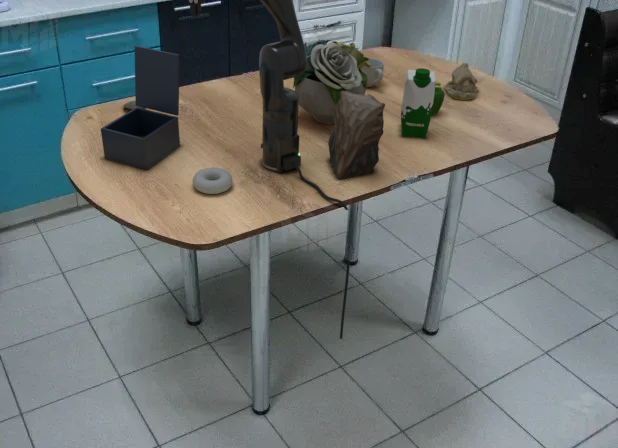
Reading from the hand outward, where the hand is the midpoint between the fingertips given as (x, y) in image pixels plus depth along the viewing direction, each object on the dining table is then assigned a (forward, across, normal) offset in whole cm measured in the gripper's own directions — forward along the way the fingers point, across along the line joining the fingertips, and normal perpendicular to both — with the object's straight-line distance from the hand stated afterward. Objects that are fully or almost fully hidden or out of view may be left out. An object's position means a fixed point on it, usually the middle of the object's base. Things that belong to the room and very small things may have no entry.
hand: (195, 16), depth 192 cm
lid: (+15, +1, -21) cm, 26 cm away
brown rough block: (+33, +53, -9) cm, 63 cm away
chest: (+34, 0, -26) cm, 43 cm away
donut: (+36, +26, -33) cm, 55 cm away
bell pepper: (+25, +63, +37) cm, 77 cm away
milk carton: (+28, +63, +21) cm, 72 cm away
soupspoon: (+30, -13, -10) cm, 35 cm away
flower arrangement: (+28, +37, +18) cm, 49 cm away
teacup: (+22, +39, +49) cm, 66 cm away
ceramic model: (+22, +69, +59) cm, 93 cm away
